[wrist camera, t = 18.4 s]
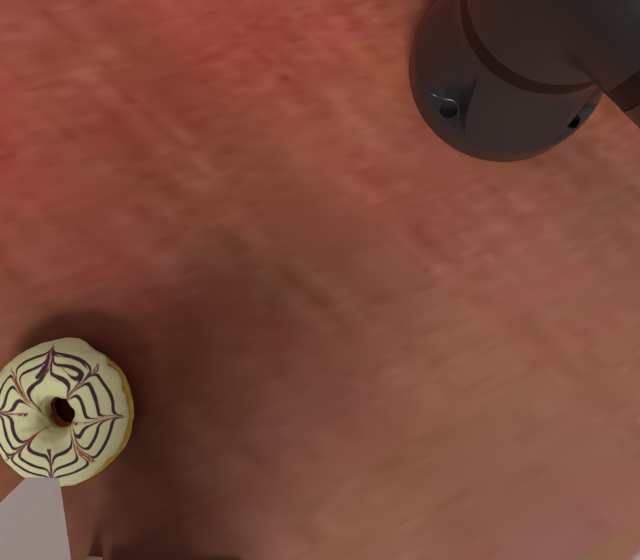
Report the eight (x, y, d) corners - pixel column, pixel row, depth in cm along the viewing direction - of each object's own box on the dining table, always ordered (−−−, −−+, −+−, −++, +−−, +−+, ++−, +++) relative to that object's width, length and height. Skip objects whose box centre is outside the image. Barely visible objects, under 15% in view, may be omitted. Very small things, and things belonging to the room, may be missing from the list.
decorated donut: (79, 311, 39) (53, 312, 35) (169, 407, 39) (153, 417, 35) (-16, 402, 39) (-53, 412, 35) (74, 500, 38) (47, 521, 35)
